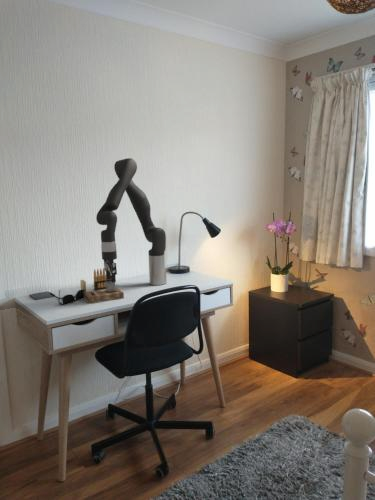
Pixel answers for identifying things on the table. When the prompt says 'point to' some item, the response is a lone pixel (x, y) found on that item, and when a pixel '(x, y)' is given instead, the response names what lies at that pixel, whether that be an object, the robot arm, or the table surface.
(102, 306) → the table surface
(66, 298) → the sunglasses
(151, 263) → the robot arm
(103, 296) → the bore block
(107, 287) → the square bit
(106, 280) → the ammunition clip
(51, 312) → the table surface
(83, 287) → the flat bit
